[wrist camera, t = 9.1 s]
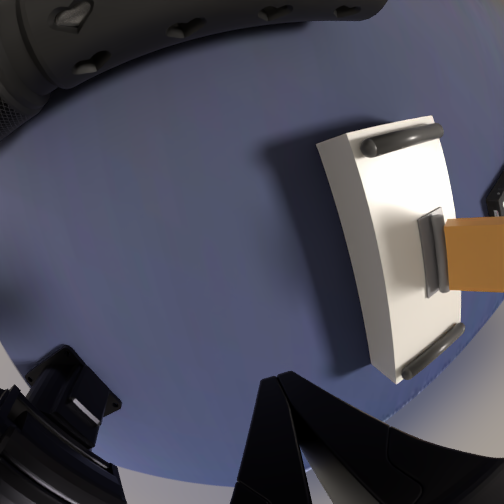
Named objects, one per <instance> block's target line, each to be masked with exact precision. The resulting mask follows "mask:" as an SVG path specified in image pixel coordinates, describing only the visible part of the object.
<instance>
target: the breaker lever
mask: <svg viewBox="0 0 504 504" xmlns="http://www.w3.org/2000/svg"><path fill="white" fill-rule="evenodd" d="M431 220H432V226H433V233H434V240H435V248H436V257H437V267H438V280H439V291H440V292H441V293H447V292H449V291H450V290H460V291H481V292H504V216H500V217H477V218H457V219H447V221H446V223H445V222H444V215H442V214H437V215H433V216H432V217H431Z"/></svg>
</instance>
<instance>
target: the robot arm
mask: <svg viewBox="0 0 504 504" xmlns="http://www.w3.org/2000/svg"><path fill="white" fill-rule="evenodd" d="M66 351H68V352H69V353H70V354H68V353H66ZM25 378H26V380H27V382H28V383H29V384H30V385H31V386H32V387H31V389H30V391H29V393H28V394H27V396H26V397H25V396H24V395H23V394H22V393H21V392H20V391H21V390H19V388H18V387H17V386H16V385H14V386H13V387H12V388H11V389H10V390H8V389H6V390H3V389H0V504H127V501H126V499H125V495H124V492H123V488H122V485H121V480H120V476H119V472H118V468H117V466H115V465H113V464H112V463H108V462H106V461H105V460H103V459H102V458H100V457H99V456H97V455H96V454H94V453H93V452H91V451H92V448H93V447H95V443H96V439H97V435H98V430H99V426H100V425H101V423H102V419H103V417H105V416H107V415H109V414H111V413H113V412H115V411H117V410H119V409H120V408H121V406H122V402H121V400H120V399H119V398H118V397H117V396H116V395H115V394H114V393H113V392H112V391H111V390H110V389H109V388H108V387H107V386H106V385H105V384H104V383H103V382H102V381H101V379H100V378H99V377H98V376H97V375H96V374H95V373H94V372H93V371H92V370H91V369H90V368H89V367H88V366H87V365H86V364H85V363H84V361H83V360H82V359H81V358H80V357H79V356H78V354H77V353H76V352H75V351H74V350H73V348H72V347H70V346H67V345H66V346H64V347H62V348H61V349H59V350H58V351H57V352H55V353H54V354H52V355H51V356H50V357H48V358H47V359H46V360H44V361H43V362H41V363H40V364H39V365H37V366H36V367H34V368H33V369H32V370H30V371H29V372H28V373H27V374H26V376H25ZM114 403H117V404H114ZM300 448H301V450H302V452H303V453H304V455H305V457H306V459H307V460H308V462H309V464H310V466H311V467H312V469H313V471H314V472H315V474H316V476H317V478H318V479H319V481H320V482H321V484H322V486H323V487H324V489H325V491H326V492H327V494H328V496H329V497H330V499H331V500H332V502H333V504H504V458H492V457H486V456H481V455H476V454H471V453H467V452H462V451H459V450H455V449H451V448H447V447H443V446H440V445H436V444H433V443H430V442H427V441H424V440H422V439H419V438H417V437H414V436H412V435H409V434H407V433H405V432H403V431H401V430H399V429H397V428H395V427H392V426H391V427H390V426H389V425H388V424H386V423H384V422H382V421H380V420H378V419H376V418H374V417H372V416H370V415H369V414H367V413H365V412H363V411H361V410H359V409H357V408H355V407H353V406H352V405H350V404H348V403H346V402H344V401H343V400H341V399H339V398H337V397H335V396H334V395H332V394H330V393H328V392H327V391H325V390H323V389H321V388H320V387H318V386H316V385H315V384H313V383H311V382H310V381H308V380H306V379H304V378H303V377H301V376H300V375H298V374H296V373H295V372H293V371H288V372H285V373H281V374H278V375H277V377H276V376H272V377H268V378H265V379H262V380H261V381H260V385H259V390H258V394H257V398H256V403H255V407H254V412H253V416H252V420H251V424H250V429H249V433H248V437H247V441H246V445H245V449H244V453H243V457H242V461H241V465H240V469H239V473H238V477H237V481H238V482H236V484H235V488H234V491H233V495H232V498H231V502H230V504H312V500H311V496H310V491H309V487H308V482H307V477H306V473H305V468H304V464H303V459H302V455H301V450H300Z"/></svg>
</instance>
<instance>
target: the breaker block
mask: <svg viewBox="0 0 504 504" xmlns="http://www.w3.org/2000/svg"><path fill="white" fill-rule="evenodd" d="M443 133H444V131H443V128H442V126H441V125H440V124H438V123H434V120H433V117H432V116H426V117H420V118H414V119H409V120H404V121H399V122H394V123H389V124H384V125H379V126H375V127H370V128H366V129H362V130H358V131H353V132H349V133H346V134H343V135H340V136H337V137H334V138H331V139H328V140H326V141H323V142H320V143H317V144H316V146H317V149H318V152H319V154H320V157H321V160H322V163H323V166H324V169H325V172H326V175H327V178H328V181H329V185H330V188H331V191H332V194H333V197H334V201H335V204H336V207H337V211H338V214H339V218H340V221H341V225H342V229H343V232H344V236H345V240H346V244H347V247H348V251H349V255H350V259H351V263H352V268H353V272H354V276H355V280H356V285H357V289H358V294H359V299H360V304H361V309H362V314H363V319H364V324H365V330H366V335H367V341H368V347H369V353H370V360H371V364H372V365H373V366H374V367H376V368H377V369H378V370H379V371H380V372H382V373H383V374H384V375H385V376H386V377H388V378H389V379H390V380H391V381H392V382H394V383H395V384H398V383H399V382H400V381H402V380H403V379H405V380H409V379H411V378H412V377H414V376H415V375H416V374H418V373H419V372H420V371H421V370H423V369H424V368H425V367H426V366H427V365H429V364H430V363H431V362H432V361H433V360H434V359H436V358H437V357H438V356H439V355H440V354H441V353H442V352H444V351H445V350H446V349H447V348H448V347H449V346H450V345H451V344H452V343H453V342H454V341H455V340H457V339H458V338H459V337H460V336H461V335H462V334H463V333H464V331H465V325H464V324H463V323H461V322H460V318H461V291H460V290H450V291H449V292H447V293H441V292H440V291H439V280H438V267H437V257H436V248H435V240H434V233H433V226H432V220H431V217H432V216H433V215H437V214H442V215H444V222H445V223H446V221H447V219H456V217H455V210H454V203H453V197H452V192H451V187H450V181H449V177H448V172H447V168H446V163H445V159H444V155H443V151H442V147H441V144H440V140H439V138H441V137H442V136H443Z"/></svg>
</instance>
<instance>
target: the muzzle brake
mask: <svg viewBox="0 0 504 504" xmlns="http://www.w3.org/2000/svg"><path fill="white" fill-rule="evenodd" d="M387 1H388V0H0V141H1V140H2V139H4V138H5V137H6V136H7V135H9V134H10V133H11V132H13V131H14V130H15V129H17V128H18V127H19V126H21V125H22V124H23V123H25V122H26V121H28V120H29V119H31V118H32V117H34V116H35V115H36V114H38V113H39V112H40V111H41V109H42V108H43V105H45V104H46V103H47V102H48V100H49V97H50V92H52V91H53V90H55V89H56V88H58V87H60V88H63V89H70V88H73V87H75V86H77V85H79V84H80V83H82V82H84V81H86V80H88V79H90V78H92V77H94V76H96V75H98V74H100V73H102V72H104V71H107V70H109V69H111V68H113V67H116V66H118V65H120V64H122V63H125V62H127V61H130V60H132V59H135V58H137V57H140V56H143V55H145V54H148V53H151V52H153V51H156V50H159V49H162V48H165V47H168V46H172V45H175V44H178V43H181V42H185V41H188V40H192V39H196V38H200V37H204V36H208V35H212V34H216V33H221V32H226V31H231V30H236V29H242V28H248V27H254V26H261V25H269V24H278V23H289V22H303V21H362V20H366V19H369V18H371V17H372V16H374V15H376V14H377V13H378V12H379V11H380V10H381V9H382V8H383V7H384V5H385V4H386V2H387Z"/></svg>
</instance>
